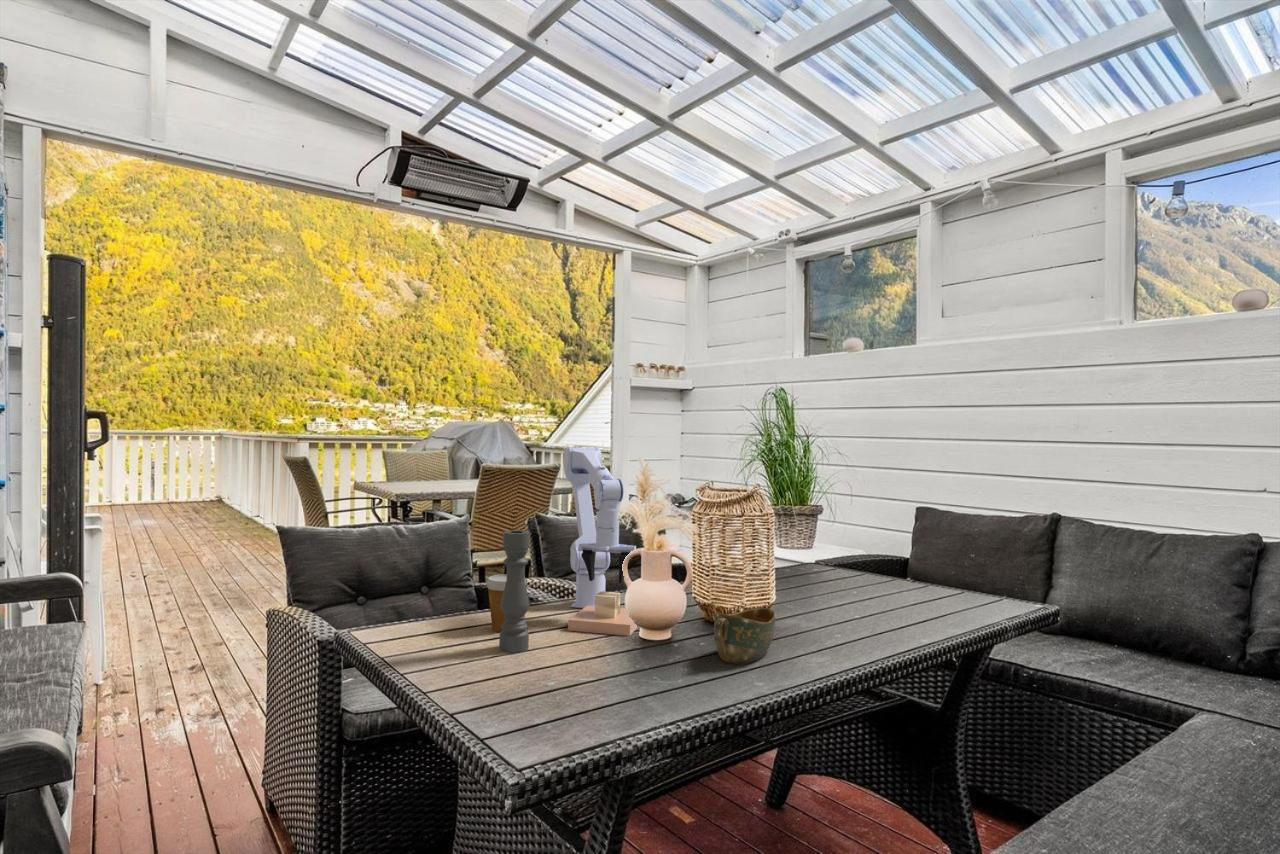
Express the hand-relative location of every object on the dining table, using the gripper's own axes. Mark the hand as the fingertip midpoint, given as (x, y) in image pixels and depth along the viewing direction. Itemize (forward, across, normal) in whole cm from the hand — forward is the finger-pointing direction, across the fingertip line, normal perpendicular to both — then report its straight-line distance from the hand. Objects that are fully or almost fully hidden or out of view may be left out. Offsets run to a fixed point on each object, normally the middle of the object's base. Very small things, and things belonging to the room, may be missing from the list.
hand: (606, 581), depth 184 cm
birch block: (+7, +2, -6) cm, 9 cm away
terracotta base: (+9, +2, -6) cm, 11 cm away
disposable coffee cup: (+10, -20, -16) cm, 27 cm away
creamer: (+10, +36, -20) cm, 42 cm away
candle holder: (+10, -12, -30) cm, 34 cm away
